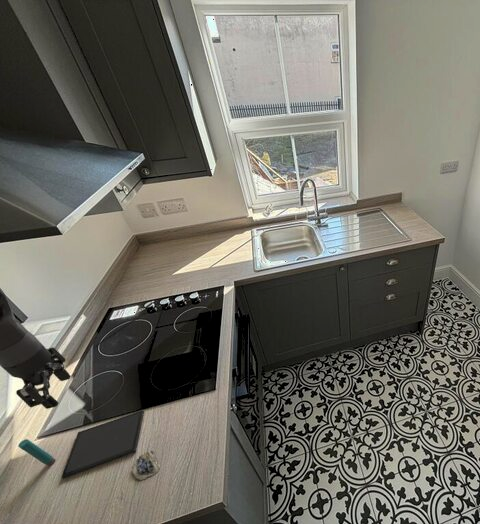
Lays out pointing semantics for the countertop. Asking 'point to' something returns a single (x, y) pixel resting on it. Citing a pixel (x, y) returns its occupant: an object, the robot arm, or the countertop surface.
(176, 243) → the countertop surface
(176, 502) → the countertop surface
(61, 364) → the robot arm
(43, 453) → the teal bar
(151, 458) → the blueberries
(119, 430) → the tablet
